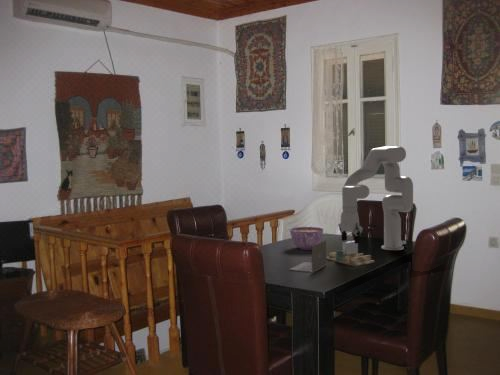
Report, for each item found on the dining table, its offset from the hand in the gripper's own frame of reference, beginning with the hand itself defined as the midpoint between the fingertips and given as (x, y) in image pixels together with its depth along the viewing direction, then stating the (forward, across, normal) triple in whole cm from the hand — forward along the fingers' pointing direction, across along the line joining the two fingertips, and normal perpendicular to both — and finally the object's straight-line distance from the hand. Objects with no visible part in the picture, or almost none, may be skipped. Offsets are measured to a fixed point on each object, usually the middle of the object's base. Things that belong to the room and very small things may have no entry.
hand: (350, 241), depth 268 cm
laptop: (+10, 0, -28) cm, 30 cm away
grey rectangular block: (+9, 0, -1) cm, 9 cm away
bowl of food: (+10, -40, +2) cm, 41 cm away
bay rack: (+10, 0, -1) cm, 10 cm away
